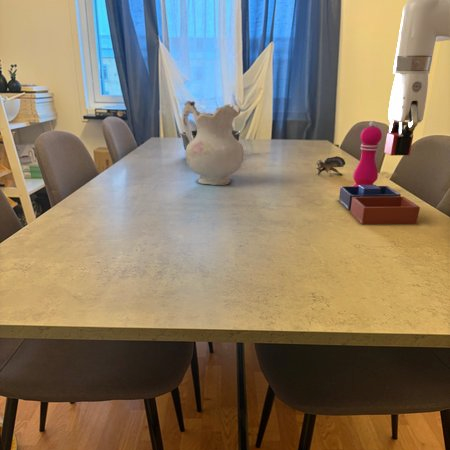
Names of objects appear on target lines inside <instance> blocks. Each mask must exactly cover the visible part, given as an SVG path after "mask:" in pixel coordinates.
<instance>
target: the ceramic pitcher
mask: <svg viewBox="0 0 450 450" xmlns="http://www.w3.org/2000/svg"><path fill="white" fill-rule="evenodd" d="M183 104H184V106H183V109H182V117H181V118H182V119H181V120H182V127H183V131H184V132H185V133H186V136H187V137H188V139H189V141H190V143H189V144H188V146H187V147H186V151H185V160H186V163H187V166H189V168H190V170H191V171H192V172H193V173H194V174H196V175H197V176H199V179H198V180H197V182H198V183H199V184H202V185H203V184H204V185H213V186H227V185H229V184H230V183H231V182H232V177H231V175H233V174H235V173H237V172H238V171H239V169H240V168H241V166H242V164H243V162H244V154H245V150H244V146H243V144H242V143H241V141H240V140H239V141H238V140H236V139H235V138H234V136H233V134H232V126H233V123H234V119H235V118H237V117H238V116H239V115H240V114H241V108H240V106H239V104H235V106H234V105H232V106H231V104H225V105H223V106H220V107H217V108H215V111H214V112H213V113H212V112H211V113H210V112H200V111H198V110H197V107H196V106H195V105H196V101H193V100H192V101H190V100H188V101H187V100H186V101H185V103H183ZM190 114H192V117H193V119H194V122H195V126H196V130H197V135H196V137H195V138H193V135H192V131H193V130H192V129H191V127H190V125H189V115H190Z"/></svg>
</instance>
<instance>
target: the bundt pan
mask: <svg viewBox="0 0 450 450" xmlns="http://www.w3.org/2000/svg"><path fill="white" fill-rule="evenodd" d="M191 131H192V135H193V138H195V137H196V135H197V129H196V130H191ZM232 134H233V136H234V138H235V139H236V140H238V141H239V142H240V136H241V131H240V130H232ZM180 136H181V140H182V144H183V149H184V151H185V152H186V147H187V146H188V144H189V143H190V141H189V139H188V137H187V136H186V133H185V131H182V132H180Z"/></svg>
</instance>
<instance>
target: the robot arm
mask: <svg viewBox="0 0 450 450" xmlns="http://www.w3.org/2000/svg"><path fill="white" fill-rule="evenodd" d="M445 41H450V0H408V1H406V3H405V4H404V6H403V8H402V13H401V21H400V26H399V32H398V40H397V46H396V50H395V51H396V52H395V56H394V57H395V58H394V65H393V69H392V70H393V71H392V74H393V75H394V80H393V84H392V87H391V88H392V89H391V94H390V99H389V105H388V112H387V118H388V120H389V129H388V133H399V137H397V140H396V146H395V151H394V154H395V156H409V155H408V154H409V149H410V144H411V138H412V136H413V137H414V131H415V129H416V127H417V126H418V124H420V123H422V122H423V120H424V115H425V109H426V104H427V103H426V102H427V97H428V96H427V95H428V87H429V74H430V73H431V66H432V61H433V56H434V51H435V45H436V42H445Z"/></svg>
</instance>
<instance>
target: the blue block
mask: <svg viewBox="0 0 450 450" xmlns="http://www.w3.org/2000/svg"><path fill="white" fill-rule="evenodd" d="M378 186H379V185H377V184H374V185H359V190H358V195H380V192H381V188H379V187H378Z"/></svg>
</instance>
